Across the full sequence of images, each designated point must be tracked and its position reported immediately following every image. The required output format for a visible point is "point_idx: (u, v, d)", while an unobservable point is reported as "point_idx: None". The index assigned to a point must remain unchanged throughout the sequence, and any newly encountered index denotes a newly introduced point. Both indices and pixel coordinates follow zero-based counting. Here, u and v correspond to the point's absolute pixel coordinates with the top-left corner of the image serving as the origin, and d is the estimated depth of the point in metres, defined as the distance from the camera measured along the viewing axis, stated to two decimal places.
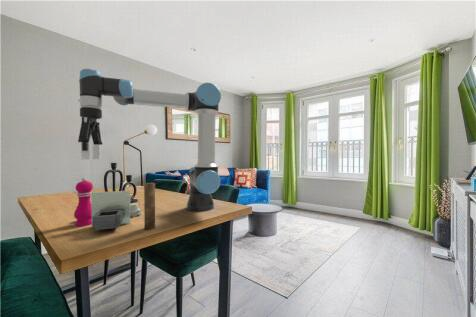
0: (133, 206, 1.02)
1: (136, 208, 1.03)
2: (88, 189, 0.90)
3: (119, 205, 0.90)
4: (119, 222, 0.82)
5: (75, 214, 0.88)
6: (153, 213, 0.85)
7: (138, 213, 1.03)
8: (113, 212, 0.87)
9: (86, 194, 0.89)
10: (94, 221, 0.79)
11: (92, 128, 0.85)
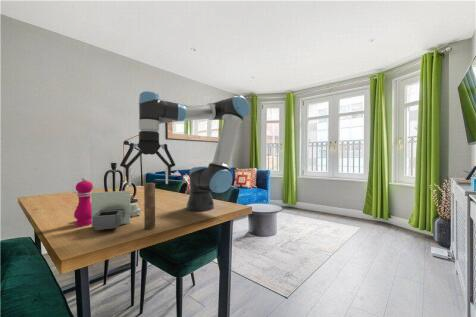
0: (132, 206, 1.02)
1: (136, 208, 1.03)
2: (88, 189, 0.90)
3: (119, 205, 0.90)
4: (119, 222, 0.82)
5: (75, 214, 0.88)
6: (153, 213, 0.85)
7: (138, 213, 1.03)
8: (113, 212, 0.87)
9: (86, 194, 0.89)
10: (94, 221, 0.79)
11: (137, 153, 0.82)
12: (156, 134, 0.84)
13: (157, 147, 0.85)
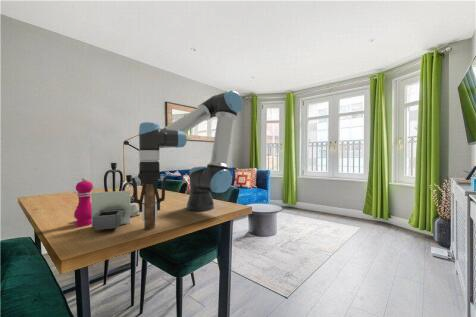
0: (132, 206, 1.02)
1: (136, 208, 1.03)
2: (88, 189, 0.90)
3: (119, 205, 0.90)
4: (119, 222, 0.82)
5: (75, 214, 0.88)
6: (153, 213, 0.85)
7: (138, 213, 1.03)
8: (113, 212, 0.87)
9: (86, 194, 0.89)
10: (94, 221, 0.79)
11: None
12: (156, 164, 0.84)
13: (157, 177, 0.86)
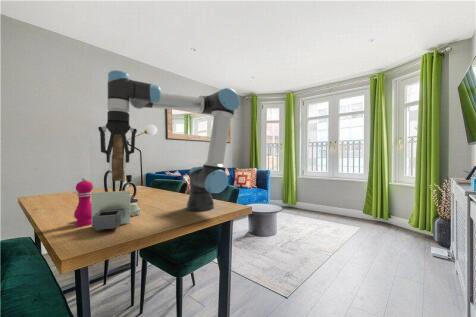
0: (132, 206, 1.03)
1: (135, 207, 1.04)
2: (88, 189, 0.89)
3: (119, 205, 0.90)
4: (119, 222, 0.82)
5: (75, 214, 0.88)
6: (121, 165, 0.83)
7: (137, 212, 1.04)
8: (113, 212, 0.87)
9: (86, 194, 0.89)
10: (94, 221, 0.79)
11: (110, 136, 0.81)
12: (125, 114, 0.82)
13: (127, 128, 0.84)
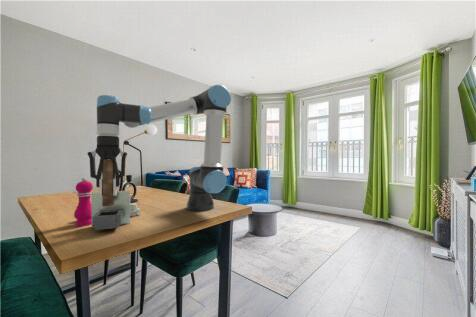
0: (132, 206, 1.02)
1: (135, 208, 1.03)
2: (88, 189, 0.90)
3: (119, 205, 0.90)
4: (119, 222, 0.82)
5: (75, 214, 0.88)
6: (111, 189, 0.83)
7: (137, 213, 1.03)
8: (113, 212, 0.87)
9: (86, 194, 0.89)
10: (94, 221, 0.79)
11: None
12: (115, 139, 0.82)
13: (116, 152, 0.84)
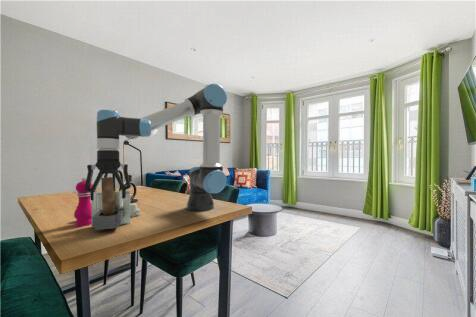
0: (131, 207, 1.02)
1: (135, 208, 1.03)
2: None
3: (119, 205, 0.90)
4: (119, 222, 0.82)
5: (75, 214, 0.88)
6: (111, 208, 0.83)
7: (137, 213, 1.03)
8: None
9: (86, 194, 0.89)
10: (94, 221, 0.79)
11: (98, 174, 0.81)
12: (115, 153, 0.82)
13: (117, 166, 0.84)
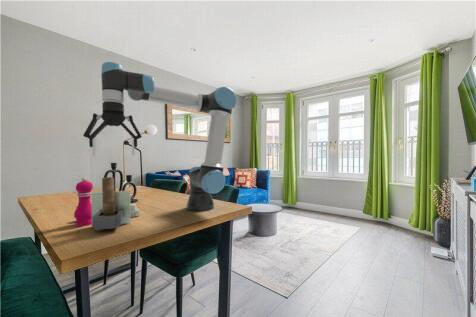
0: (131, 207, 1.01)
1: (134, 209, 1.01)
2: (88, 189, 0.89)
3: (119, 205, 0.90)
4: (119, 222, 0.82)
5: (75, 214, 0.88)
6: (112, 208, 0.83)
7: (136, 214, 1.02)
8: None
9: (86, 194, 0.89)
10: (94, 221, 0.79)
11: None
12: (120, 105, 0.85)
13: (122, 118, 0.86)
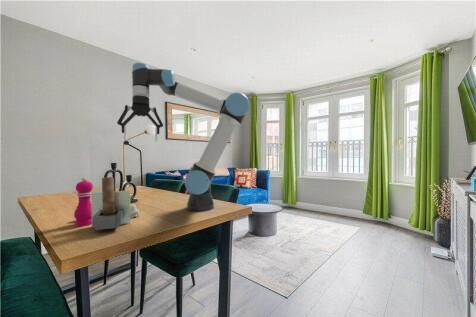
0: (130, 208, 1.00)
1: (133, 209, 1.00)
2: (88, 189, 0.90)
3: (119, 205, 0.90)
4: (119, 222, 0.82)
5: (75, 214, 0.88)
6: (112, 208, 0.83)
7: (135, 214, 1.00)
8: None
9: (86, 194, 0.89)
10: (94, 221, 0.79)
11: None
12: (146, 98, 1.02)
13: (147, 110, 1.03)
